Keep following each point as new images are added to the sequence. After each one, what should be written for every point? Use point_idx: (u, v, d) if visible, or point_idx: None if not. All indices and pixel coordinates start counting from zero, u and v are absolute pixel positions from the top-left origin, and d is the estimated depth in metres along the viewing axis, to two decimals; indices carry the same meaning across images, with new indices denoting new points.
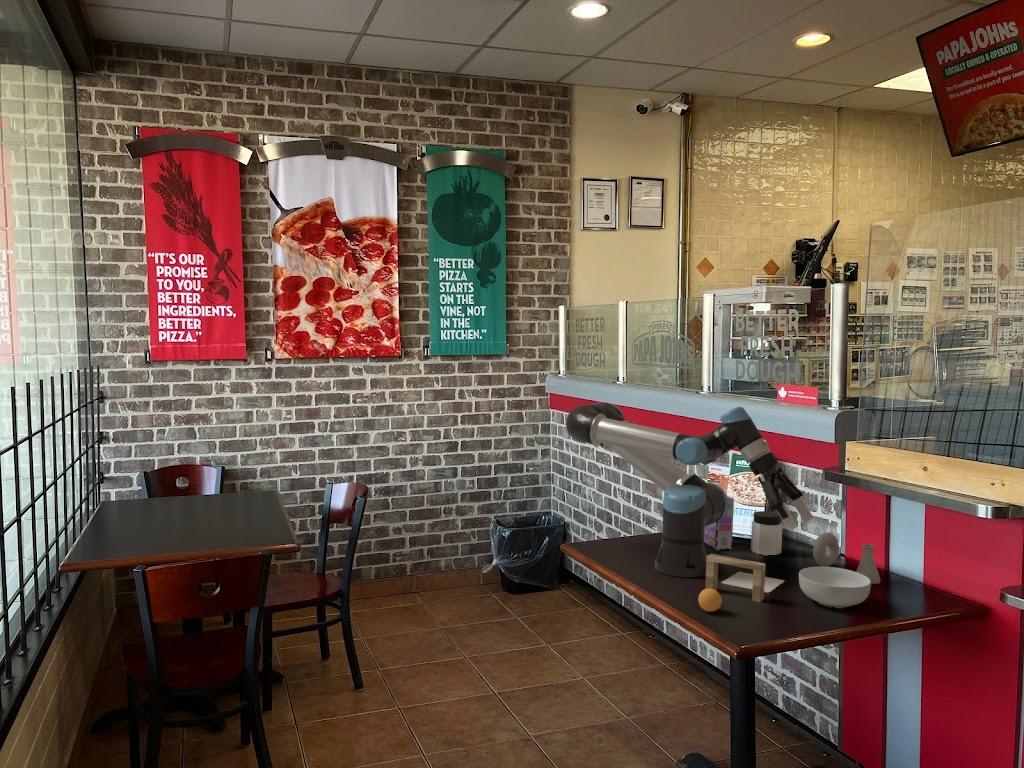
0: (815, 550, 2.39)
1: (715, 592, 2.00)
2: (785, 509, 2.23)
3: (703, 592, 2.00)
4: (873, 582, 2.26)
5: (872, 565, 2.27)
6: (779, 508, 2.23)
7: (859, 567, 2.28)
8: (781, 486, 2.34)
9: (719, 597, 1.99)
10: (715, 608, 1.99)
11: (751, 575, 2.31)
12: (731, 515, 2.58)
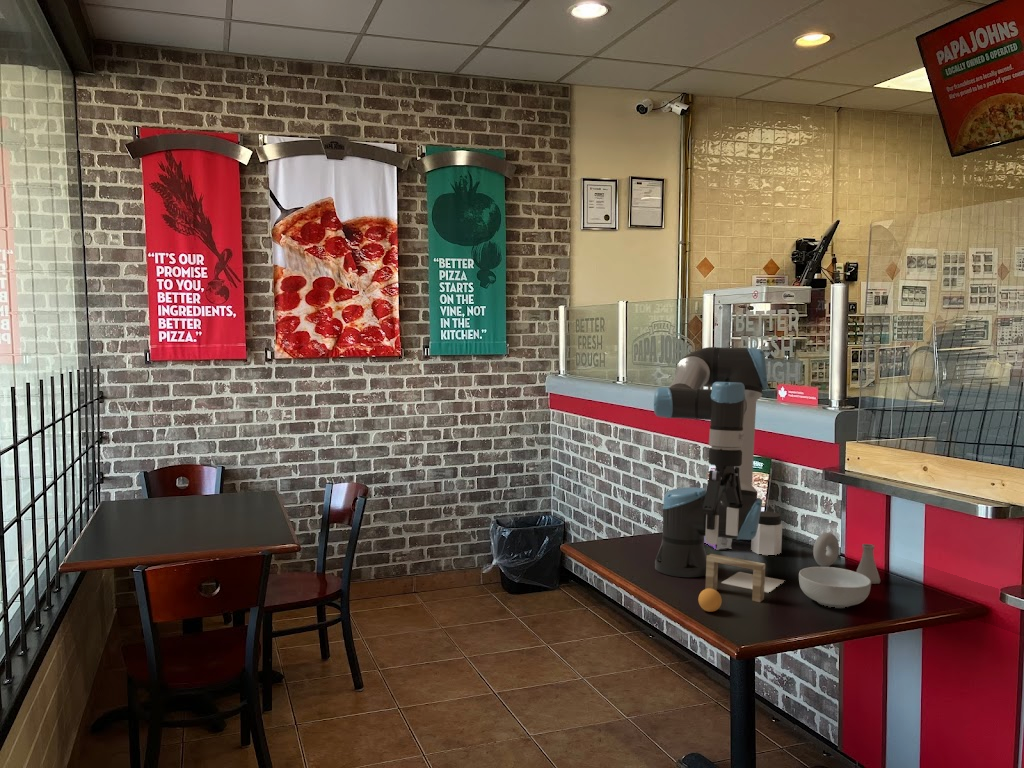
0: (815, 550, 2.39)
1: (715, 592, 2.00)
2: (716, 520, 1.86)
3: (703, 592, 2.00)
4: (873, 582, 2.26)
5: (872, 565, 2.27)
6: (710, 516, 1.86)
7: (859, 567, 2.28)
8: (727, 488, 1.96)
9: (719, 597, 1.99)
10: (715, 608, 1.99)
11: (751, 575, 2.31)
12: None
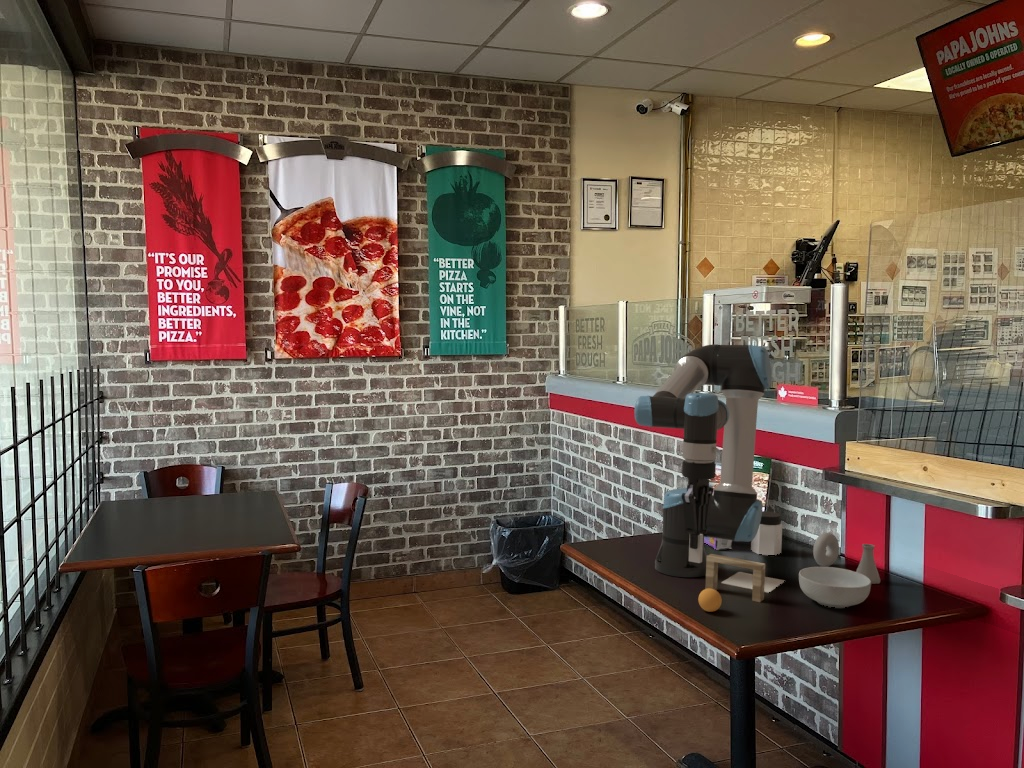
0: (815, 550, 2.39)
1: (715, 592, 2.00)
2: (698, 539, 1.91)
3: (703, 592, 2.00)
4: (873, 582, 2.26)
5: (872, 565, 2.27)
6: (693, 536, 1.90)
7: (859, 567, 2.28)
8: None
9: (719, 597, 1.99)
10: (715, 608, 1.99)
11: (751, 575, 2.31)
12: None
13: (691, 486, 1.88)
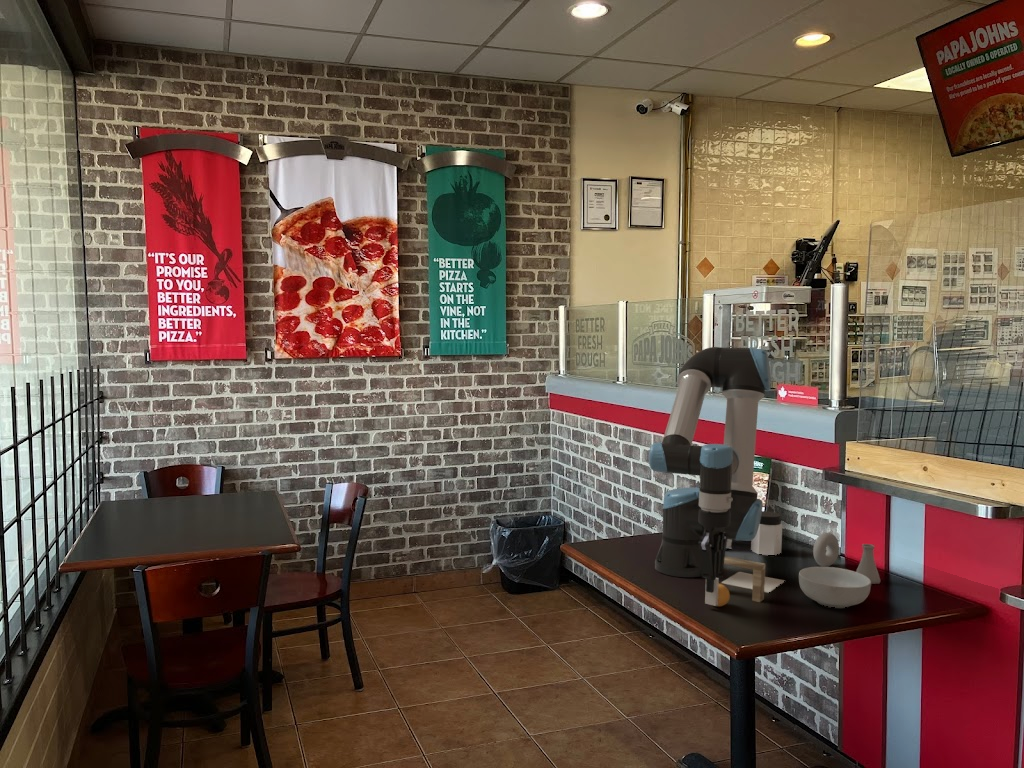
0: (815, 550, 2.39)
1: None
2: (714, 583, 2.01)
3: None
4: (873, 582, 2.26)
5: (872, 565, 2.27)
6: (709, 580, 2.00)
7: (859, 567, 2.28)
8: None
9: (729, 594, 2.04)
10: (724, 592, 2.03)
11: (751, 575, 2.31)
12: None
13: (707, 534, 1.98)
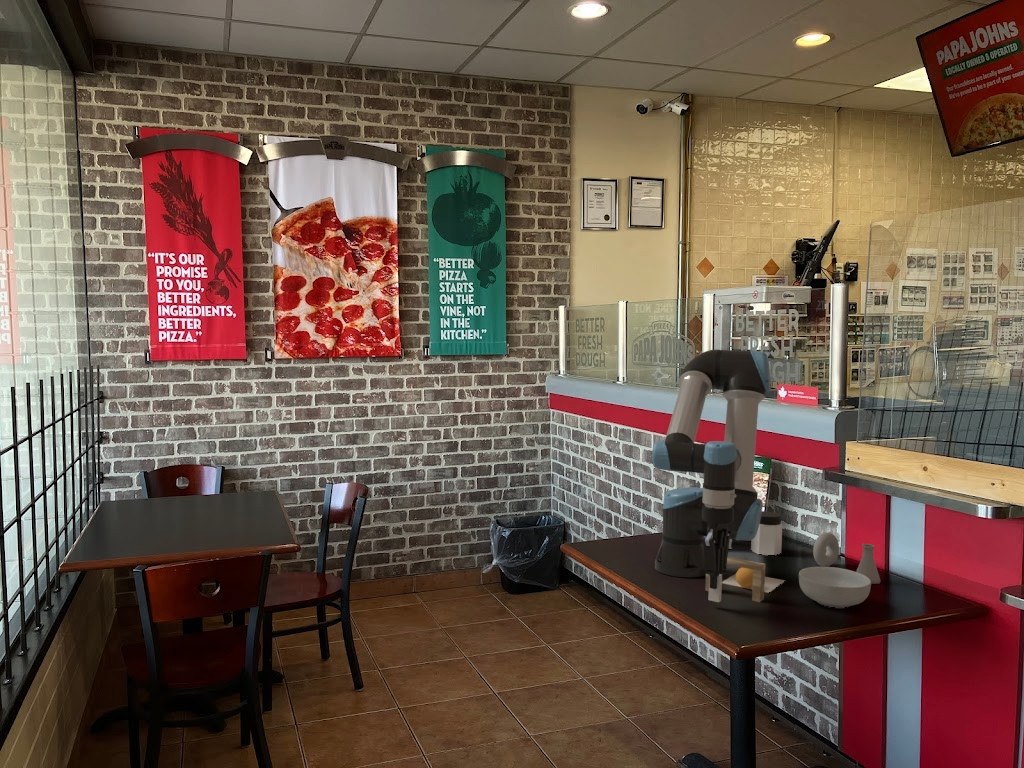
0: (815, 550, 2.39)
1: None
2: (718, 580, 2.02)
3: None
4: (873, 582, 2.26)
5: (872, 565, 2.27)
6: (713, 576, 2.01)
7: (859, 567, 2.28)
8: None
9: None
10: None
11: None
12: None
13: (711, 530, 1.99)
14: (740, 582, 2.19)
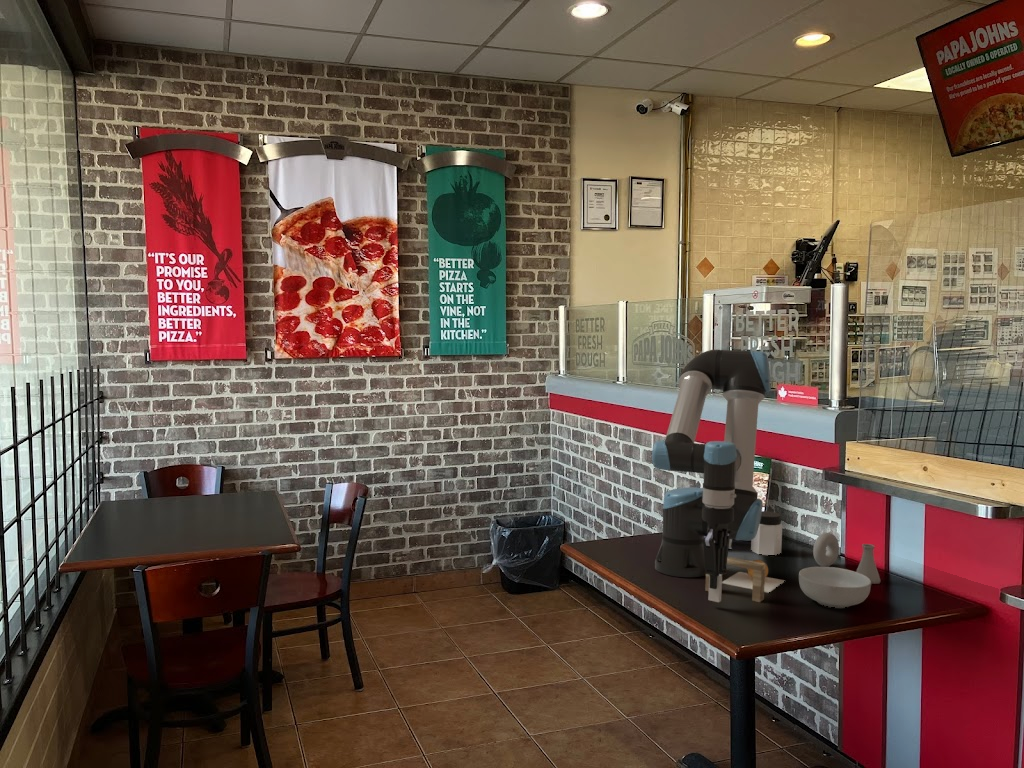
0: (815, 550, 2.39)
1: None
2: (718, 580, 2.02)
3: (750, 570, 2.26)
4: (873, 582, 2.26)
5: (872, 565, 2.27)
6: (713, 576, 2.01)
7: (859, 567, 2.28)
8: None
9: (765, 570, 2.25)
10: None
11: None
12: None
13: (711, 530, 1.99)
14: None
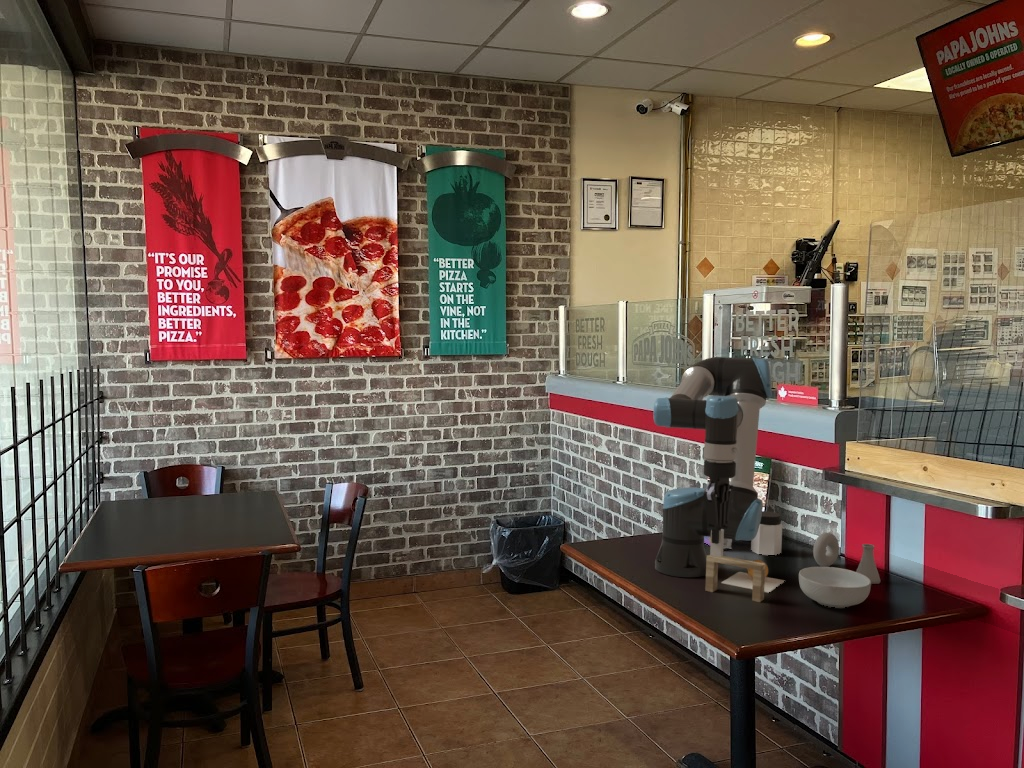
0: (815, 550, 2.39)
1: None
2: (720, 535, 2.01)
3: (750, 570, 2.26)
4: (873, 582, 2.26)
5: (872, 565, 2.27)
6: (715, 531, 2.01)
7: (859, 567, 2.28)
8: None
9: (765, 570, 2.25)
10: None
11: None
12: None
13: (713, 484, 1.98)
14: None
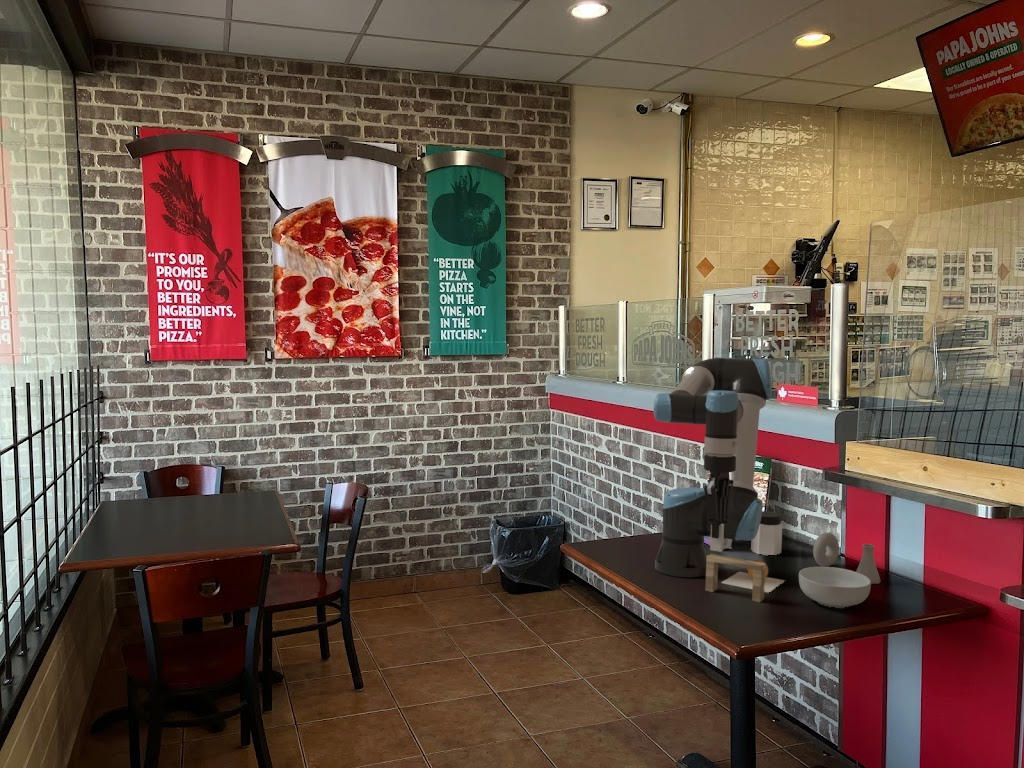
0: (815, 550, 2.39)
1: None
2: (720, 529, 2.01)
3: (750, 570, 2.26)
4: (873, 582, 2.26)
5: (872, 565, 2.27)
6: (715, 526, 2.00)
7: (859, 567, 2.28)
8: None
9: (765, 570, 2.25)
10: None
11: None
12: None
13: (713, 479, 1.98)
14: None
